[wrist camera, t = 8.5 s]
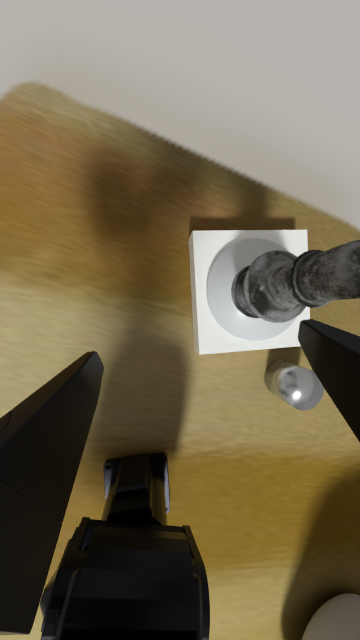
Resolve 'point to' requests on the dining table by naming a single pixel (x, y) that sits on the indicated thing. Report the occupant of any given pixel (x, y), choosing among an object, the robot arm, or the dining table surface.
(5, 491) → the robot arm
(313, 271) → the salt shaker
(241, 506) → the dining table surface
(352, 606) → the jar
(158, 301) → the dining table surface
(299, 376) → the spacer
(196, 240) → the scale
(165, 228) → the dining table surface
